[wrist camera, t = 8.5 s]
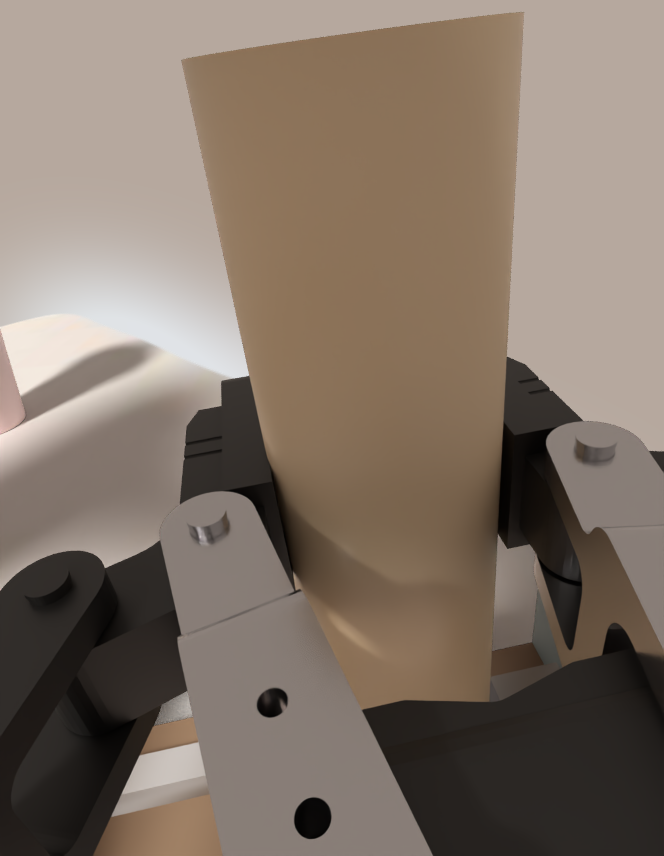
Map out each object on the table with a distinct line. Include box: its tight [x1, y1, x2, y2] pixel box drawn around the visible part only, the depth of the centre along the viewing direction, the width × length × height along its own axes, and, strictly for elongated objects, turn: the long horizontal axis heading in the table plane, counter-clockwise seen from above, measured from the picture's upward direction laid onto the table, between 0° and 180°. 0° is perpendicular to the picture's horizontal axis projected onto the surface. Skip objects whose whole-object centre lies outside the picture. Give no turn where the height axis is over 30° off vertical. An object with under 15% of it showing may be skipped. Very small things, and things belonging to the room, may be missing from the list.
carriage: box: [181, 12, 524, 710], centre depth 10 cm, size 5×7×16 cm
